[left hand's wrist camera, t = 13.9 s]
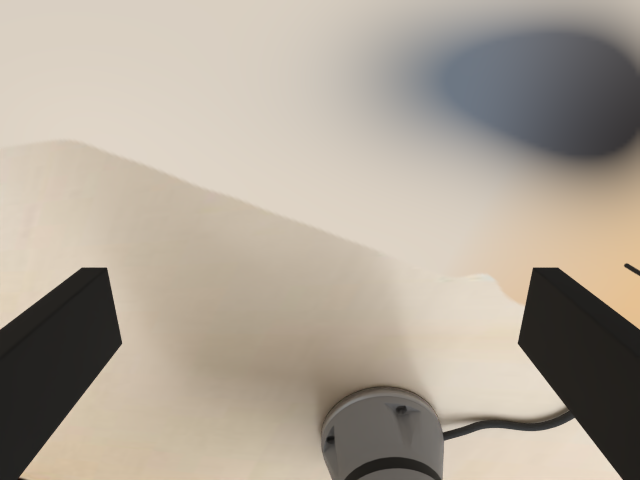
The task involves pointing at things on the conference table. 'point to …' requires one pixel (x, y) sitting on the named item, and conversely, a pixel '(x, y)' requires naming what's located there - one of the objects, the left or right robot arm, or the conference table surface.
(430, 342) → the conference table surface
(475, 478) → the conference table surface
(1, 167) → the conference table surface
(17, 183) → the conference table surface
